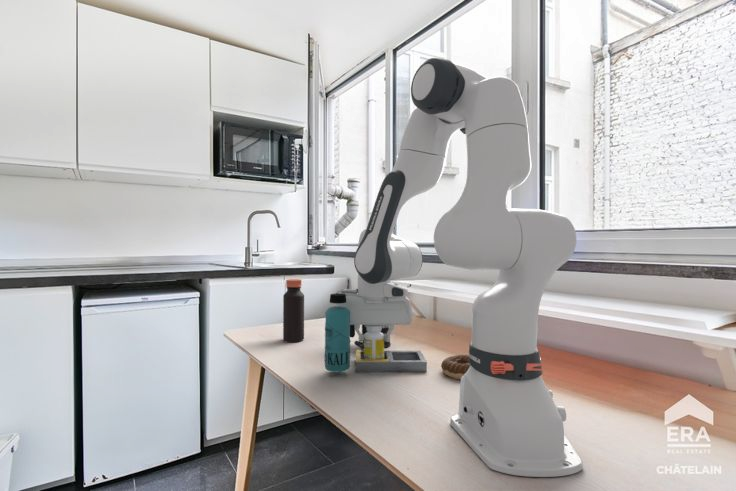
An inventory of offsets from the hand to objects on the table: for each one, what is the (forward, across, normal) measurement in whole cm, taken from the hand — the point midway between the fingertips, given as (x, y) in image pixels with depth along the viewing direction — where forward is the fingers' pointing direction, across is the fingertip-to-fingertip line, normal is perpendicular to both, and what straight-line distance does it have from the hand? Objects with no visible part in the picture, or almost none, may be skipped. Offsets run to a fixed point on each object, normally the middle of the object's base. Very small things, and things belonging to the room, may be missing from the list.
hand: (374, 341), depth 100 cm
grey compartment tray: (+6, +4, 0) cm, 8 cm away
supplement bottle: (+6, 0, 0) cm, 6 cm away
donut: (+7, +22, -6) cm, 24 cm away
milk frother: (+7, 0, +16) cm, 18 cm away
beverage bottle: (+7, -9, -6) cm, 13 cm away
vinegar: (+7, -26, +26) cm, 37 cm away
